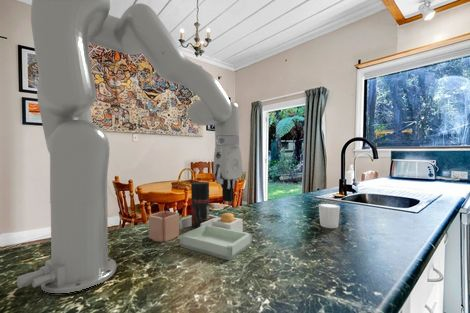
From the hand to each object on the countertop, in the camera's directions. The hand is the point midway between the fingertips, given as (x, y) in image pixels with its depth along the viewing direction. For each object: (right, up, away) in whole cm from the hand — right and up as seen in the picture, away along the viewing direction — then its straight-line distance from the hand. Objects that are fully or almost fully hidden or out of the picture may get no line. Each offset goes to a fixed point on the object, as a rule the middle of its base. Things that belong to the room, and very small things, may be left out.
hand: (228, 200), depth 72 cm
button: (0, -9, 0) cm, 9 cm away
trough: (-3, -10, -10) cm, 15 cm away
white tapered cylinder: (+35, -10, +7) cm, 37 cm away
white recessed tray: (-5, -10, +3) cm, 12 cm away
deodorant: (-10, -10, +6) cm, 15 cm away
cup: (-19, -10, -4) cm, 22 cm away
